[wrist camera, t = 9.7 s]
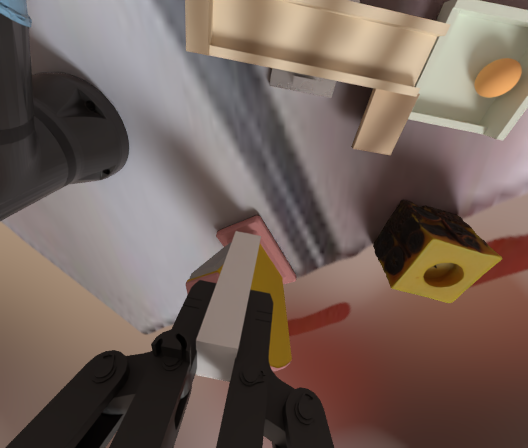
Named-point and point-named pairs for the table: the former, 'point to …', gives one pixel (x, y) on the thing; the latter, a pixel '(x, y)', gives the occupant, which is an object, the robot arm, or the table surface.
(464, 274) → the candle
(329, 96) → the fulcrum
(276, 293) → the pink yellow-faced device
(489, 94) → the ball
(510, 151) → the table surface
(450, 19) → the tray
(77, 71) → the table surface
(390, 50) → the beige piece
